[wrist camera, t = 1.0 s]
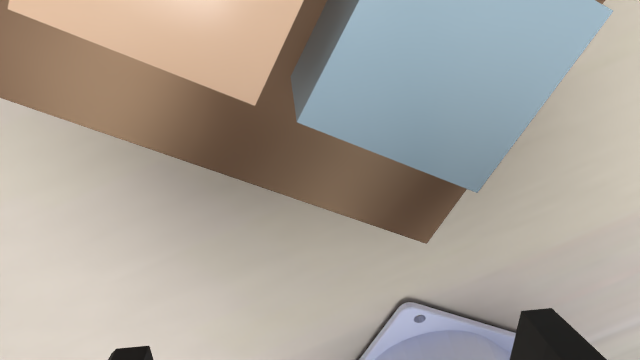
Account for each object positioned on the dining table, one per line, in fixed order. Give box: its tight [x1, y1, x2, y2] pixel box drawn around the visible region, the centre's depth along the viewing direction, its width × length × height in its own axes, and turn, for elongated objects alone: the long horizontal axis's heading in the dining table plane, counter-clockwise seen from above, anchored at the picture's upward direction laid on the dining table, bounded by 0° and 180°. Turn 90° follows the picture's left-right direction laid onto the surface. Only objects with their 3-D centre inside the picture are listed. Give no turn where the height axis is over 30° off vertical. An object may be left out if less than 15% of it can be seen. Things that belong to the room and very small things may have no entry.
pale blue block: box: [291, 0, 613, 193], centre depth 13 cm, size 5×5×3 cm
